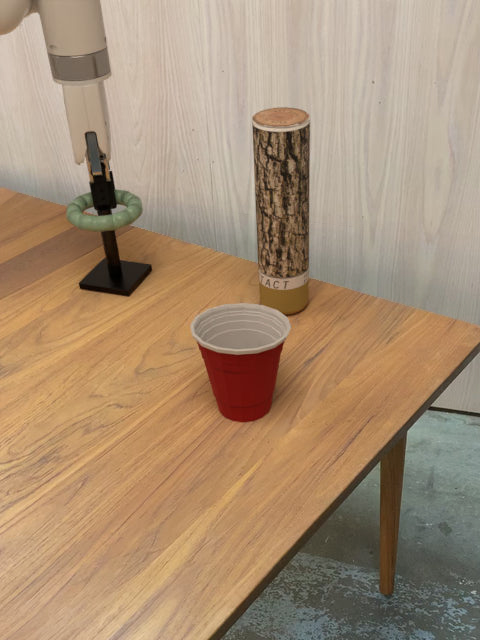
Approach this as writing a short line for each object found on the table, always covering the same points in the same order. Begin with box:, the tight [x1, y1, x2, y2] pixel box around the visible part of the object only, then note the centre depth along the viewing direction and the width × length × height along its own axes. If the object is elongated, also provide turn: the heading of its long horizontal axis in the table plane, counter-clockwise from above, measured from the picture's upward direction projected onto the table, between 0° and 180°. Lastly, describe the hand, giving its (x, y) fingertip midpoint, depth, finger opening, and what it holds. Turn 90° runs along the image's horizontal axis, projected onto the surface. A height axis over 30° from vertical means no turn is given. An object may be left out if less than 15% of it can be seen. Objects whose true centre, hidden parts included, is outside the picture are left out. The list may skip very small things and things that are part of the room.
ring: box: [65, 188, 144, 233], centre depth 108 cm, size 10×10×2 cm
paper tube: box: [251, 106, 311, 316], centre depth 100 cm, size 7×7×25 cm
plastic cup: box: [189, 302, 292, 423], centre depth 87 cm, size 11×11×12 cm
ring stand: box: [78, 205, 153, 297], centre depth 111 cm, size 8×8×11 cm
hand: (105, 203), depth 112 cm, fingers closed on ring, 2 cm apart
